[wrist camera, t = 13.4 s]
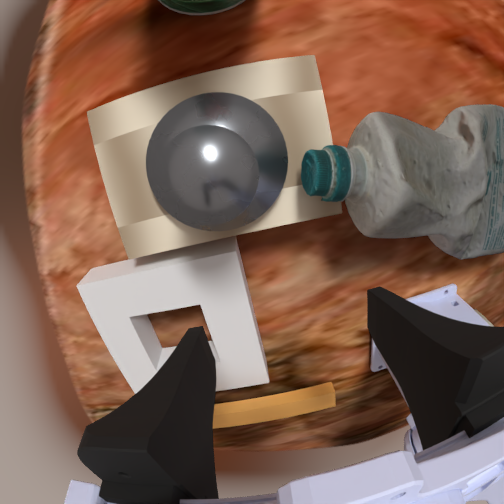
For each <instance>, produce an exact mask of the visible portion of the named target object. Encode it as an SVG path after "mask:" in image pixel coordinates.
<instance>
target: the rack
mask: <svg viewBox="0 0 504 504" xmlns="http://www.w3.org/2000/svg"><path fill="white" fill-rule="evenodd" d="M211 92H225V93H232V94H236V95H239V96H243V97H245V98H247V99H249V100H251V101H253V102H255V103H256V104H258V105H260V106H261V107H262V108H263V109H264V110H266V111H267V112H268V113H269V114H270V115H271V117H272V118H273V119H274V120H275V122H276V123H277V125H278V126H279V128H280V130H281V132H282V134H283V137H284V140H285V142H286V147H287V152H288V170H287V175H286V180H285V182H284V185H283V188H282V190H281V192H280V194H279V196H278V198H277V199H276V200H275V202H274V203H273V205H272V206H271V207H270V208H269V209H268V210H267V211H266V212H265V213H264V214H263V215H262V216H260V217H259V218H257V219H256V220H254V221H253V222H251V223H249V224H247V225H245V226H242V227H239V228H237V229H232V230H228V231H205V230H200V229H196V228H193V227H190V226H188V225H185V224H183V223H182V222H180V221H178V220H176V219H175V218H174V217H172V216H171V215H170V214H169V213H168V212H167V211H166V210H165V209H164V208H163V207H162V206H161V205H160V203H159V202H158V201H157V199H156V197H155V196H154V194H153V192H152V190H151V187H150V185H149V181H148V178H147V172H146V153H147V147H148V144H149V140H150V138H151V135H152V133H153V131H154V129H155V127H156V126H157V124H158V123H159V121H160V120H161V119H162V117H163V116H164V115H165V114H166V113H167V112H168V111H169V110H170V109H172V108H173V107H174V106H176V105H177V104H179V103H180V102H182V101H184V100H186V99H188V98H190V97H193V96H196V95H200V94H203V93H211ZM87 116H88V120H89V125H90V130H91V134H92V138H93V143H94V147H95V151H96V155H97V159H98V163H99V166H100V170H101V174H102V178H103V181H104V185H105V188H106V192H107V195H108V198H109V202H110V205H111V208H112V211H113V215H114V218H115V221H116V224H117V227H118V230H119V233H120V236H121V239H122V242H123V244H124V247H125V250H126V253H127V256H128V258H129V260H130V259H134V258H138V257H142V256H147V255H151V254H155V253H160V252H164V251H168V250H173V249H177V248H182V247H186V246H190V245H195V244H199V243H204V242H208V241H213V240H217V239H222V238H226V237H231V236H236V235H240V234H245V233H250V232H254V231H259V230H264V229H268V228H273V227H278V226H282V225H287V224H292V223H297V222H302V221H307V220H311V219H316V218H321V217H326V216H331V215H336V214H341V213H342V206H341V201H338V202H326V201H321V199H322V196H309V195H307V194H306V192H305V190H304V188H303V186H302V180H301V163H302V160H303V157H304V154H305V153H306V151H308V150H310V149H314V150H322V149H323V148H324V147H325V146H327V145H333V143H332V137H331V131H330V126H329V120H328V115H327V110H326V105H325V100H324V95H323V90H322V86H321V81H320V77H319V72H318V68H317V64H316V59H315V55H308V56H298V57H289V58H281V59H273V60H267V61H260V62H254V63H248V64H243V65H237V66H232V67H227V68H223V69H218V70H213V71H209V72H205V73H201V74H197V75H193V76H189V77H185V78H182V79H178V80H174V81H171V82H168V83H164V84H161V85H158V86H155V87H151V88H148V89H145V90H142V91H139V92H137V93H134V94H131V95H128V96H125V97H123V98H120V99H117V100H115V101H112V102H110V103H107V104H105V105H102V106H100V107H97V108H95V109H92V110H90V111H88V112H87Z"/></svg>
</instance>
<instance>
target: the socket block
mask: <svg viewBox="0 0 504 504" xmlns="http://www.w3.org/2000/svg"><path fill="white" fill-rule="evenodd" d="M77 288H78V290H79V293H80V295H81V297H82V299H83V301H84V303H85V305H86V308H87V310H88V312H89V314H90V316H91V318H92V320H93V322H94V324H95V326H96V327H97V329H98V331H99V333H100V335H101V337H102V339H103V341H104V342H105V344H106V346H107V348H108V350H109V351H110V353H111V355H112V357H113V358H114V360H115V362H116V364H117V365H118V367H119V369H120V370H121V372H122V374H123V375H124V377H125V379H126V380H127V382H128V383H129V385H130V386H131V388H132V390H133V391H134V393H135V394H136V393H137V392H138V391H140V390H141V389H142V388H143V387H144V386H145V385H146V384H147V383H148V382H149V381H150V380H151V379H152V377H153V376H154V375H155V374H156V373H157V372H158V371H159V369H160V368H161V367H162V366H163V364H164V363H165V362H166V361H167V359H168V358H169V357H170V355H171V354H172V352H173V351H174V350H175V348H176V347H177V346H175V347H168V348H162V346H161V344H160V342H159V340H158V338H157V336H156V333H155V331H154V329H153V327H152V325H151V322H150V320H149V318H148V315H147V314H150V313H156V312H162V311H167V310H173V309H178V308H184V307H189V306H195V305H201V308H202V311H203V314H204V317H205V320H206V323H207V325H208V328H209V331H210V334H211V337H212V339H213V341H208V342H209V345H210V347H211V350H212V353H213V355H214V358H215V360H216V391H221V390H228V389H235V388H241V387H247V386H253V385H259V384H264V383H269V375H268V368H267V361H266V356H265V353H264V349H263V345H262V341H261V337H260V333H259V329H258V325H257V320H256V316H255V312H254V308H253V304H252V300H251V296H250V292H249V288H248V284H247V280H246V276H245V272H244V268H243V263H242V259H241V255H240V251H239V247H238V243H237V238H236V236H231V237H226V238H222V239H217V240H213V241H208V242H204V243H199V244H195V245H190V246H186V247H182V248H177V249H173V250H168V251H164V252H160V253H155V254H151V255H147V256H142V257H138V258H134V259H130V260H125V261H120V262H116V263H112V264H108V265H104V266H99V267H95V268H92V269H91V270H90V271H89V272H88V273H87V274H86V275H85V277H84V278H83V279H82V280H81V281H80V282H79V283H78V285H77Z"/></svg>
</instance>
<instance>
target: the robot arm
mask: <svg viewBox="0 0 504 504" xmlns="http://www.w3.org/2000/svg"><path fill="white" fill-rule="evenodd" d="M456 292H457V286H456V285H455V284H450V285H447V286H444V287H441V288H439V289H436V290H433V291H430V292H427V293H423V294H420V295H417V296H414V297H411V298H408V299H404V298H402V297H400V296H398V295H396V294H394V293H392V292H390V291H388V290H386V289H384V288H382V287H376V288H373V289H369V290H367V298H368V329H369V332H370V334H371V336H372V350H371V370H372V371H373V372H376V371H379V370H382V369H385V368H387V369H388V370H389V372H390V374H391V376H392V378H393V379H394V381H395V383H396V385H397V387H398V388H399V390H400V392H401V394H402V396H403V398H404V399H405V401H406V403H407V405H408V407H409V409H410V411H411V414H410V415H409V416H408V417H407V418H406V419H407V421H408V423H409V425H410V427H411V429H409V430H408V431H407V432H406V434H405V437H404V451H400V450H398V451H395V452H391V453H387V454H383V455H381V456H378V457H375V458H372V459H369V460H366V461H362V462H359V463H356V464H352V465H349V466H345V467H342V468H338V469H334V470H330V471H326V472H322V473H318V474H313V475H309V476H306V477H302V478H299V479H295V480H292V481H290V482H288V483H286V484H285V485H283V486H281V487H280V488H279V489H278V491H277V493H273V494H266V495H258V496H249V497H238V498H224V499H219V498H218V491H217V483H216V474H215V463H214V449H213V415H214V404H215V393H216V360H215V358H214V355H213V353H212V350H211V347H210V345H209V342H208V339H207V337H206V334H205V331H204V328H203V326H200V327H194V328H189V329H188V331H187V332H186V333H185V335H184V336H183V338H182V339H181V341H180V342H179V344H178V345H177V347H176V348H175V350H174V351H173V352H172V354H171V355H170V357H169V358H168V359H167V361H166V362H165V363H164V364H163V366H162V367H161V368H160V369H159V371H158V372H157V373H156V374H155V375H154V376H153V377H152V379H151V380H150V381H149V382H148V383H147V384H146V385H145V386H144V387H143V388H142V389H141V390H140V391H138V392H137V393H136V394H135V395H134V396H132V397H131V398H130V399H129V400H128V401H127V402H125V403H124V404H123V405H121V406H120V407H118V408H117V409H115V410H114V411H112V412H111V413H109V414H108V415H106V416H105V417H103V418H101V419H99V420H97V421H95V422H94V423H92V424H90V425H88V426H86V429H85V431H84V434H83V437H82V440H81V443H80V445H79V448H78V456H79V458H80V460H81V461H82V462H83V464H84V465H85V466H87V467H88V468H89V469H90V470H91V471H92V472H93V473H94V474H96V475H97V476H98V477H99V478H100V479H102V484H101V487H100V486H98V485H96V484H92V483H88V482H82V481H77V480H71V482H70V485H69V488H68V492H67V495H66V499H65V502H64V504H466V502H467V501H476V500H486V501H487V503H488V504H504V327H493V326H490V325H489V324H488V323H487V322H486V321H485V320H484V319H483V318H482V317H481V316H480V315H479V314H478V313H477V312H476V311H475V310H474V309H472V308H471V307H470V306H469V305H468V304H467V303H466V302H465V301H464V300H463V299H462V298H461V297H459V296H458V295H457V294H456Z"/></svg>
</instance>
